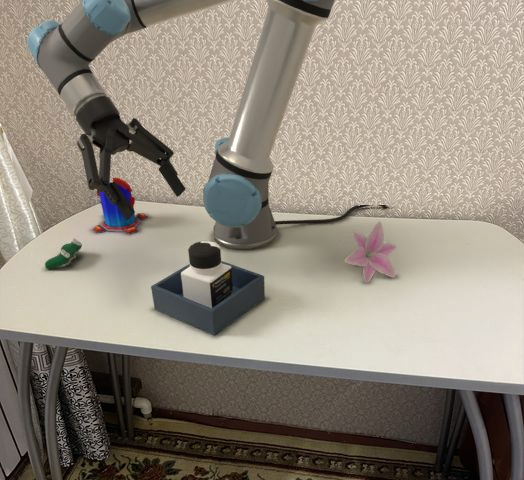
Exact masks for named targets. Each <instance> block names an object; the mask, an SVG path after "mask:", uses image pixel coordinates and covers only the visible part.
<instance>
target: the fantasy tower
mask: <svg viewBox="0 0 524 480" xmlns="http://www.w3.org/2000/svg"><path fill="white" fill-rule="evenodd" d="M114 181H115V183H116V184H117V186H118V187H119V189H120V190H121V192H122V193H123V195H124V196H125V198H126V199H127V200H128V202H129V203H130V205H131V206H132V208H133V209H134V210H135V203H136V197H135V196H132V195H133V194H132V192H133V189H132V187H131V185H130V184H129V183H128V182H127V181H126V180H124V179H122V178H120V177H112V182H114ZM112 182H111V181H110V182H109V183H110V184H111V183H112ZM96 195H97V196H98V197H99V199H100V201H99V203H100V205H101V208H102V209H101V210H102V214H103V219H104V221H103V222H102V223H101V225H100V224H97V225H96V226H95V227H94V228H93V229H92V231H93V232H95V234H98V233H99V234H100V233H104V232H105V233H106V232H114V233H125V234H127V235H132V234H135V233H138V232H139V231H138V229H137V227H138V226H139V225H140V223H141V222H142V221H145V220H147V219H148V218H149V217H148V216H147V215H146V214H145V213H143V212H139V213H138V212H137V213H136V212H135V213H136V214H135V213H134V214H133V215H132V216H131V218H130V219H128V220H126V219H125V218H124V216H123V215H122V213H121V212H120V210H119V209H118V207H117V206H116V204H112V203H111V202H110V201H109V200H108V198H107V197H106V195H105V194H104V192H98V191H97V190H96Z"/></svg>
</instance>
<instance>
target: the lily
mask: <svg viewBox="0 0 524 480" xmlns="http://www.w3.org/2000/svg"><path fill="white" fill-rule="evenodd" d="M351 234H352V237H353V240H354V243H355V245H356V247H357V248H356V249H354V250H353V251H352V252H351V253H350V254H349V255H348V256H347V257H346V258H345V259H344V262H345V263H346V264H349V265H353V266H358V267H362V272H363V279H364V283H365V284H367V283H369V281H370V280H371V279H372V277H373V276H374V274H375V272H376V271H377V272H379V273H380V274H383V275H385V276H387V277H390V278H393V279H394V278H395V277H396V273H395V269H394V267H393V264H392V262H391V260H390V258H389V256H391V255H392V254H393V253H394V252H395V251H396V250H397V248H398V246H397V245H395V244H391V243H388V242H387V243H386V242H385V231H384V228H383V223H382V222H381V221H380V220H379V221H377V222H376V223H375V225H374V227H373V228H372V230H371V231H370V232H369V234H368V235H367V236H365V235H363V234H362V233H360V232H357V231H351Z"/></svg>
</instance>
